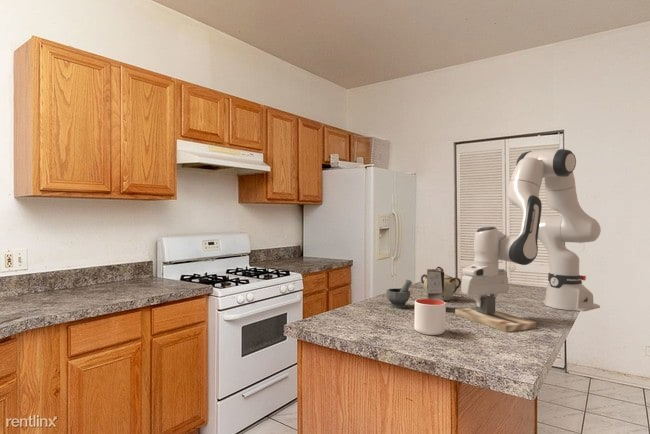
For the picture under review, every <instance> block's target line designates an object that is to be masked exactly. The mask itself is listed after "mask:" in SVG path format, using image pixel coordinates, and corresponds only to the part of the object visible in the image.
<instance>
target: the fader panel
mask: <svg viewBox="0 0 650 434" xmlns="http://www.w3.org/2000/svg"><path fill="white" fill-rule="evenodd" d="M454 315H456V316H459V317H462V318H465V319H467V320H470V321H473V322H476V323H478V324H481V325H485V326H488V327H491V328H493V329H496V330H499V331H502V332H503V333H507V332H508V333H509V332H515V331H523V330H530V329H537V321H534V320H530V319H526V318H523V317H519V316H516V315H513V314H509V313H506V312H504V311H503V312H502V311H500V310H496V309H495V313H493V314H485V313H482V312H479V311H476V310H475V306H474V307H463V308H456V309H454Z"/></svg>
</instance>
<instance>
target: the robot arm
mask: <svg viewBox="0 0 650 434" xmlns="http://www.w3.org/2000/svg"><path fill="white" fill-rule="evenodd" d="M576 165H577V159H576V155H575V153H573V151H572V150H569V149H565V148H560V149H556V148H555V149H554V148H553V149H551V148H550V149H547V148H546V149H540V150H534V151H531V150H529V151H525V152H523V153H521V154H520V155H519V156H518V158H517V159H516V165H515V168H514V170H513V172H512V175H511V177H510V180H509V182H508V186H507V191H506V196H507V199H508V201H509V202H510V203H511V204H512V205H513V206H515V207H517V208H519V209H520V211H522V218H521V223H520V224H521V225H520V231H519V234H518V235H517V236H513V235H512V236H511V235H507V234H505V233H503V232H501V231H500V230H499V229H498V228H497V227H495V226H484V227H480V228H478V229H477V230H475V233H474V238H473V239H474V240H473V251H474V258H473V264H470V265H469V266H466V267H463V268H462V271H461V272H462V274H463V276H462V277H461V284H460V291H461V293H462V295H463V296H466V297H467V296H468V297H472V296H473V298H474V300H476V301H477V303H476V305H477V306H478V307H482V306H483V302H481V300H480V298H481V295H489V296H493V297H495V300H497V295H500V294H507V293H509V289H510V285H509V277H508V271H506V270H505V269H504V268H499V264H500V263H499V260H500V261H504V262H508V263H509V262H510V263H515V264H518V265H521V266H526V265H529V264H531V263H533V261H534V260H535V259H536V258H537V256H538V252H539V250H538V249H539V247H538V245H539V244H538V241H539V242H541V243H542V244H543V246H544V248H545V249H546V251H547V255H548V261H549V262H548V264H549V272H548V274H547V281H548V283H547V284H546V292H545V298H544V299H543V303H544V305H545V306H547V307H549V308H553V309H559V310H566V311H576V312H588V311H592V310H596V309H597V310H598V309H600V308H601V306H600V304H597V303H594V295H593V293H592V292H591V291H590V290H589V289H588V288H587V287H586V286H585V285H583V281H586V279H587V276H586V275H580V257H579V255H577V254H576V253H575V252H574V251H572V250H570V249H568V248H567V247H566V244H565V243H576V244H577V243H578V244H579V243H580V244H582V243H583V244H584V243H591V242H596V241H597V239H599V237H600V235H601V230H602V228H601V225H600V223H599V221H598V220H597V219H595V218H593V217H592V216H590V215H589V214H587V213H586V211H584V209H583V208H582V206H581V205H580V202H579V201H578V194H577V188H576V180H575V174H574V170H575V168H576ZM543 178H544V190H545V197H546V204H547V206H548V207H549V209H550V210H553V211H555V212H557V213H559V215H561V216H545V217H544V216H543V217H541V216H542V207H543V206H542V205H543V203H542V201H541V199H540V190H541V186H542V181H543Z"/></svg>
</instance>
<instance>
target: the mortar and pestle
mask: <svg viewBox="0 0 650 434" xmlns="http://www.w3.org/2000/svg"><path fill="white" fill-rule="evenodd" d="M412 284H413V282H412V280H410V279H406V280H405V282H404V283H403V286H402V287H401V288H396V287H395V288H388V289H387V290H386V297H387V299H388V301H389V302H390V307H391V308H394V309H405V308H406V306H407V305H406V304H407V302H408V301H409V299H410V297H411V290H410V287H411V285H412Z"/></svg>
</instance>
